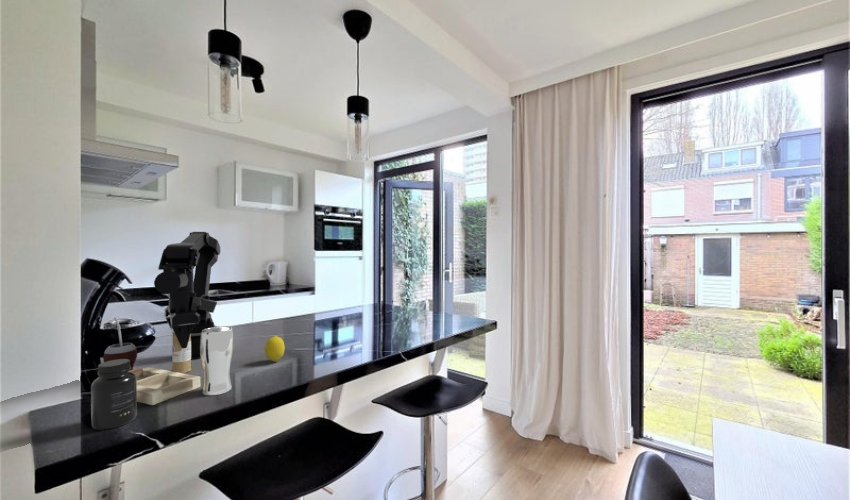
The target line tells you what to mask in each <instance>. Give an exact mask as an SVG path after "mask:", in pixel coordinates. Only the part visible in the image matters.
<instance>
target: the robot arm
mask: <svg viewBox="0 0 850 500" xmlns="http://www.w3.org/2000/svg"><path fill="white" fill-rule="evenodd" d="M220 254H221V245H220V242H219V241H218V239H217V238H214V237H212V236H211V235H210V234H209V232H206V231H191V232H189V234H188V236H187V237H185V238H184V239H183V240H181V242H177V243H171V244H168V245H166V247H165V248H164V249H163V251H162V254H161V258H160V261H159V264H158V267H157V269H158V271H161V270H162V272H160V273H158V274H157V275H156V276H155V279H154V282H153V285H154V288H155V290H157V291H158V292H159V293H161V294H165V295H166V294H167V298H168V306H166V307H165V308H164V317H165V320H166V322H167V324H168V326H169V328H170V330H171V331H172V329H173V331H174V333H175V335H176V337H177V339H178V341H179V343H180V346H181V348H182V349H183V348H187V345H188V341H189V338H190V334H191V359H193V360H196V359H197V360H198V359H201V355H200V340H201V331H202V330H203V329H207V328H212V327H216V326H215V322H214V320H213V318H212V313H213V314H214V311H215V309H216V307H217V304H218V301H216V300H213V299H210V298H211V297H210V295H209V290H210V284H211V283H210V282H211V274H212V267H213V266H214V265H215V264H216V263H217V262H218V259H219V256H220Z"/></svg>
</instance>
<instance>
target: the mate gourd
mask: <svg viewBox="0 0 850 500" xmlns="http://www.w3.org/2000/svg"><path fill="white" fill-rule="evenodd" d="M113 319H114V321H115V323H116V329H117V334H118V341H119V343H116V344H115V343H114V344H112V345H109V346H107V348H106V349H105V350H104V353H103V357H102V360H103V363H104V362H107V361H112V360H118V359H128V360H130V366H131V369H130V370H133V369H134V365H135V363H136V360H137V357H138V349H137V347H136V346H135V344H133V342H123V339H122V331H121V329H122V328H121V325H120V322H119V320H118V318H117V317H114V318H113ZM130 370H129V371H130Z"/></svg>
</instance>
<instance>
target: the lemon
mask: <svg viewBox="0 0 850 500" xmlns="http://www.w3.org/2000/svg"><path fill="white" fill-rule="evenodd" d="M285 347H286V346H285V342H284V340H283V338H282V337H279V336H277V335H273V336H272V337H270V338H269V339H268V340H267V341H266V343H265V345H264V354H265V356H266V357H267V359H268V360H271V361H273V362H274V363H275V362H277V361H278V360H279V359H281V358H282V357H283V356H284V354H285V349H286V348H285Z"/></svg>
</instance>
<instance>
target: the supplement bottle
mask: <svg viewBox="0 0 850 500" xmlns="http://www.w3.org/2000/svg"><path fill="white" fill-rule="evenodd" d="M130 369H131V366H130V360H128V359H118V360H112V361H107V362H104V361H103V362H101V363H99V364H98V365H97V376H98V377H97V378H96V379H94V380H93V381H92V383H91V385H90V395H91V397H90V403H91V404H90V407H91V408H90V410H91V413H90V415H91V427H92V429H94V430H98V431H105V430H111V429H116V428H119V427H122V426H124V425H127V424H128V423H132V421H133V420H134V419H136V418H137V415H138V405H137V404H138V403H137V378H136V375H135V374H134V373H132V372H129V370H130Z"/></svg>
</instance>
